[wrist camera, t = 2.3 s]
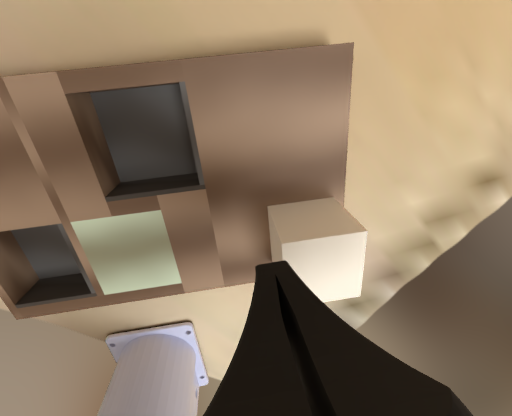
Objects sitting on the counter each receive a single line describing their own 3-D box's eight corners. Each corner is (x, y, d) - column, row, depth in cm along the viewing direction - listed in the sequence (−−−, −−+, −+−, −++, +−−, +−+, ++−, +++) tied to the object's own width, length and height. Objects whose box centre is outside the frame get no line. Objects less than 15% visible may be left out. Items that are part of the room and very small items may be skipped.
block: (331, 252, 19) (360, 296, 15) (272, 260, 19) (285, 308, 15) (333, 197, 17) (367, 230, 13) (267, 206, 17) (281, 243, 13)
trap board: (325, 247, 23) (339, 269, 20) (43, 289, 21) (16, 319, 18) (331, 49, 16) (353, 42, 13) (-79, 90, 14) (-147, 91, 12)
